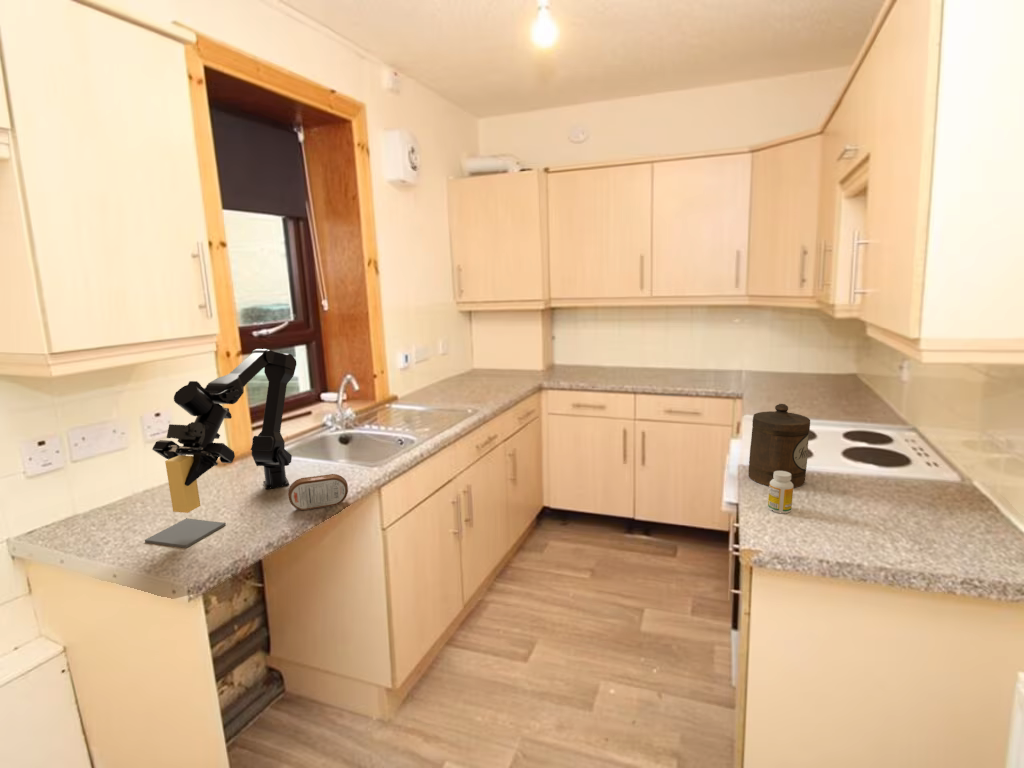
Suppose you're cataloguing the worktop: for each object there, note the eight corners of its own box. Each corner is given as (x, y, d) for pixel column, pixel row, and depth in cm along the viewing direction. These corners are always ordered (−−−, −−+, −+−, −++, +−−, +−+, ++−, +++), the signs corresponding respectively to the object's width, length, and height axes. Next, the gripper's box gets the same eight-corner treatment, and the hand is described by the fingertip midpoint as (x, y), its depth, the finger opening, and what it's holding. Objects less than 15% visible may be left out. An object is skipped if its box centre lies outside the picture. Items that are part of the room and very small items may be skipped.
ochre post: (186, 504, 136) (178, 455, 133) (200, 505, 135) (193, 456, 132) (173, 511, 132) (165, 460, 129) (187, 512, 131) (179, 461, 128)
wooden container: (810, 490, 152) (817, 411, 148) (751, 486, 156) (756, 409, 152) (799, 471, 166) (805, 399, 162) (745, 468, 170) (749, 397, 166)
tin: (348, 500, 154) (346, 470, 152) (349, 504, 151) (347, 474, 149) (289, 509, 148) (286, 479, 147) (289, 514, 146) (286, 483, 144)
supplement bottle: (768, 512, 139) (771, 476, 137) (766, 504, 144) (769, 468, 142) (792, 515, 137) (795, 478, 136) (790, 506, 142) (792, 470, 140)
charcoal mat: (144, 542, 132) (144, 539, 132) (186, 520, 143) (186, 518, 143) (186, 547, 128) (185, 545, 128) (225, 525, 140) (225, 522, 140)
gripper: (152, 407, 134) (119, 467, 126) (220, 410, 130) (190, 472, 122) (182, 430, 143) (153, 487, 135) (246, 433, 139) (221, 492, 131)
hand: (178, 484), depth 131 cm, fingers closed on ochre post, 4 cm apart
